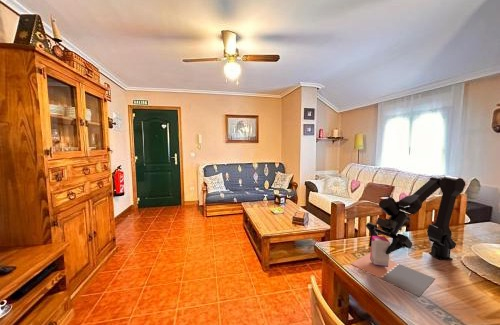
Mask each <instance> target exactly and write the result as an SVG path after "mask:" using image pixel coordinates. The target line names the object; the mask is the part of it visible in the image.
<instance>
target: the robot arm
mask: <svg viewBox="0 0 500 325" xmlns="http://www.w3.org/2000/svg"><path fill="white" fill-rule="evenodd" d="M465 187H466V181H465V180H464V179H463V178H461V177H457V176H456V177H455V176H450V175H446V176H444V177H440V176H430V178H429V180H428V181H426V183H424V184H423V185H422V186H421V187H419V189H417V190H416V191H415V192H413V194H410V195H407V196H405V197H403V198H401V199H399V200H398V201H396V200H395V198H394V197H390V196H389V197H387V198H384V199H382V200H380V201H379V203H378V206H379V208H380V209H381V210H382V211H383V212H384V213H385V215H387V216H389V218H385V219H384V218H381V217H377V220H376V223H373V222H367V223H366V224H365V228H366V229H367V230H368V231H369V235H370V237H369V243H368V246H369V247H371V241H372V236H379V234H380V235H383V236H384V237H388V238H391V239H392V240H391V242H390V246H389V247H388V249H387V251H386V254H387V255H388V254H389V255H390V254H391V253H394V252H395V251H398V250H400V249H405V248H406V249H409V250H410V249H411V248H412V246H413V242H412V241H411V239H410V238H409V236H407V235H405V234H402V233H399V231H400V232H401V231H403V228H402V227H403V225H404V223H405V222H406V221H408V222H410V221H411V218H410V215H416V214H417V213H418V212H419V211H420V210H421V208H422V207H423V203H424V201H426V200H427V199H428V198H429V197H431V195H433V194H434V193H435V192H436V191H437V190H439V189H440V191H441V193H442V195H441V200H440V203H439V207H438V211H437V215H436V218H435V222H434V223H432V224H429V225H428V227H427V231H426V233H427V234H426V235H427V237H428V240H429V241H430V242H432V245H431V249H430V250H431V251H429V253H428V254H430V255H431V256H433V257H434V258H436V259H437V260H439V261H440V260H442V261H443V260H444V261H445V260H446V261H448V260H449V261H453V257H451V251H452V250H453V249H455V248H456V246H457V243H456V242H455V241H454V240H453V239H452V231H451V228H450V223H451V218H452V215H453V211H454V208H455V203H456V200H457V197H459V195H461V194H462V193H463V192H464V189H465ZM407 213H408V214H407ZM378 226H379V227H378Z"/></svg>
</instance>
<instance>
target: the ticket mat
mask: <svg viewBox="0 0 500 325" xmlns="http://www.w3.org/2000/svg"><path fill="white" fill-rule="evenodd" d="M370 255H371V251H370V252H367V253H366V254H364V255H363V256H361V257H359V258H358V259H356V260H354V261H352V262H351V263H350V264H351V265H352V266H354V267H356V268H358V269H361V270H362V271H364V272H367V273H369V274H370V275H372V276H375V277H377V278H379V279H382V280H383V281H385V282H387V283H390V284H391V285H394V286H396V287H398V288H400V289H402V290H403V291H406V292H408V293H410V294H413V295H414V296H417V297H419V298H420V296H421V295H422V294H423V293H424V292H425V291H426V290H427V289H428V288H429V286H430V285H431V284H432V283H433V282H434V281H435V280H436V278H435V277H433V276H430V275H428V274H425V273H423V272H421V271H417V270H415V269H414V268H413V269H412V268H411V267H408V266H406V265H403V264H400V263H398V262H396V261H393V260H390V259H389V264H388V267H383V266H374V264H373V263H372V261H371V260H370Z"/></svg>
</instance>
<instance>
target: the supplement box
mask: <svg viewBox="0 0 500 325" xmlns="http://www.w3.org/2000/svg"><path fill="white" fill-rule="evenodd" d="M390 244H391V241H390V240H389V239H387V237H386V236H380V235H378V236H372V241H371V246H370V252H371V255H370V260H371V261H372V263H373V264H374V266H383V267H388V264H389V260H390V254H388V255H387V254H386V251H387V249H388V247H389V246H390Z"/></svg>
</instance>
